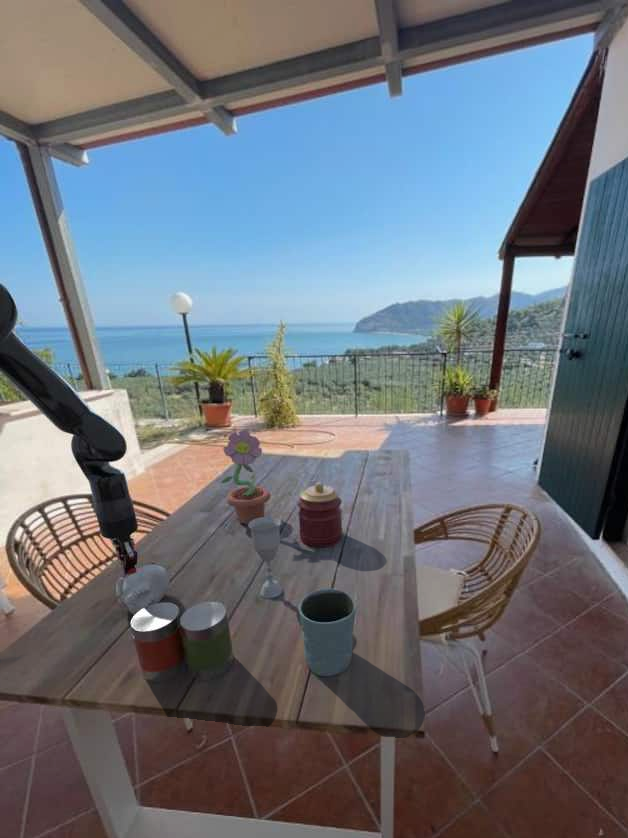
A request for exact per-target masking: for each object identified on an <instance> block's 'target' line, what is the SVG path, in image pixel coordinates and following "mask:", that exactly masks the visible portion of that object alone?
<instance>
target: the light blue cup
mask: <svg viewBox="0 0 628 838" xmlns="http://www.w3.org/2000/svg"><path fill="white" fill-rule="evenodd" d="M356 611H357V603H356V600H355V599H354V597H353V596H352V595H351V594H350V593H348V592H346V591H344V590H341V589H338V588H337V589H336V588H323V589H318V590H315V591H312V592H310V593H308V594H306V595H305V596H304V597H303V598H302V599H301V600H300V602H299V604H298V614H299V619H300V626H301V631H302V641H303V646H304V656H305V663H306V665H307V668H308V670H310V671H311V672H312V673H313V674H315V675H317V676H320V677H334V676H337V675H339V674H341V673H343V672H344V671H346V670H347V669H348V667H349V666H350V664H351V661H352V655H353V653H352V650H353V638H354V629H355V628H354V626H355V619H356Z"/></svg>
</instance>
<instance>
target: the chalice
mask: <svg viewBox="0 0 628 838" xmlns="http://www.w3.org/2000/svg"><path fill="white" fill-rule="evenodd" d="M281 523H282V521H281V520H280V519H279V518H277V517H273V516H264V517H261V518H257V519H254V520H252V521H251V522H249V524H247V526H248V528H249V529H250V531H251V541H252V546H253V548H254V550H255V552H256V553H257V555H258V556H259V557H260V559H261V560H262V561H264V562H265V563H266V565H265V567H264V568H265V569H266V573H265V576H266V577H267V580H266V581H265V582H264V583H263V584H262V587H261V590H260V596H262V598H266V599H273V598H276V597H278V596H280V595H281V594H282V592H283V588H282V587H281V585H280V584H279V582H278V581H277V580H275V579H273V575H274V574H275V573H274V572H273V570H272V569H273V566H272V563H271V561H274V559H275V558H276V555H277V553H278V551H279V548H280V544H281V534H280V533H281V532H280V526H281Z"/></svg>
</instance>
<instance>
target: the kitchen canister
mask: <svg viewBox="0 0 628 838" xmlns="http://www.w3.org/2000/svg"><path fill="white" fill-rule="evenodd" d="M314 484H315V485H313V486H309V487H307V488H305V490H303V491H302V492H300V494H299V497H300V498H299V500H298V501H297V506H298V507H299V510H298V513H297V514H298V521H299V531H298V532H299V538H300V541H301V542H302V543H303V544H305V545H307V546H311V547H314V548H315V547H316V548H319V547H320V548H321V547H322V548H323V547H328V546H332V545H335V544H337V543H338V542H340V541H341V539H342V535H343V526H342V525H343V523H342V522H343V521H342V513H343V510H342V508H341V505H342V502H343V500H342V498H341V497H339V494H340V493H339V491H338V490H337V489H335V488H333V487H331V486H329V485H324V484H323V483H322V482H317V483H314Z"/></svg>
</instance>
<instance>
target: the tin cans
mask: <svg viewBox="0 0 628 838" xmlns="http://www.w3.org/2000/svg"><path fill="white" fill-rule="evenodd" d="M179 609H180V608H179V607H178V606H177V605H176V604H175V603H173V602H158V603H157V604H153V605H150V606H148V607H145V608H144V609H142V610H140V611H139V612H137V613H136V614H133V617H131V620H130V628H131V632H132V639H133V643H134V647H135V651H136V655H137V659H138V662H139V666H140V668H141V673H142V676H143V678H144V679H145V680H147V681H148V682H152V683H153V682H154V683H158V682H159V683H160V682H165V681H168V680H170V679H172V678H174V677H176V676H177V675H179V674H180V673H181V672H182V671H183V670H184V669H185V668H186V666H187V665H188V670H189V674H190V676H191V677H192V678H193V679H195V680H197V681H201V682H205V681H212V680H216V679H218V678H219V677H221V676H222V675H224V674H226V673H227V672H228V671H229V669H230V668H231V667H232V665H233V662H234V656H233V655H234V654H233V645H232V639H231V633H230V632H231V631H230V624H229V619H228V614H227V609H226V606H225V605H224V604H223V603H220V602H217V601H204V602H200V603H197V604H195V605H192V606H191V607H189V608H187V609H186V610H185V611H184V612H183V613H182V614H180V610H179Z"/></svg>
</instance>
